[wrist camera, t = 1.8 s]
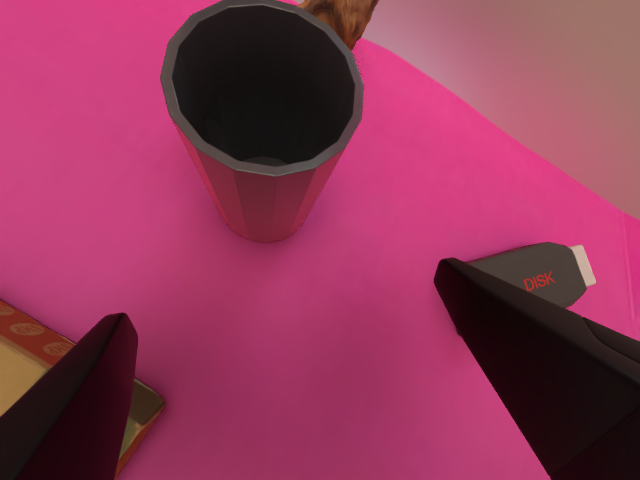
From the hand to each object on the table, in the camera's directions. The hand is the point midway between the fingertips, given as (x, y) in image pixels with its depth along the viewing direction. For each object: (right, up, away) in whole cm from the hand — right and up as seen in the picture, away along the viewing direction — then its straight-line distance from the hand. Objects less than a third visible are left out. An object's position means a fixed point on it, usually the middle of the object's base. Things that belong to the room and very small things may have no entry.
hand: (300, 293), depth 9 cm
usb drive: (+16, -2, +16) cm, 23 cm away
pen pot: (-3, +5, +14) cm, 15 cm away
